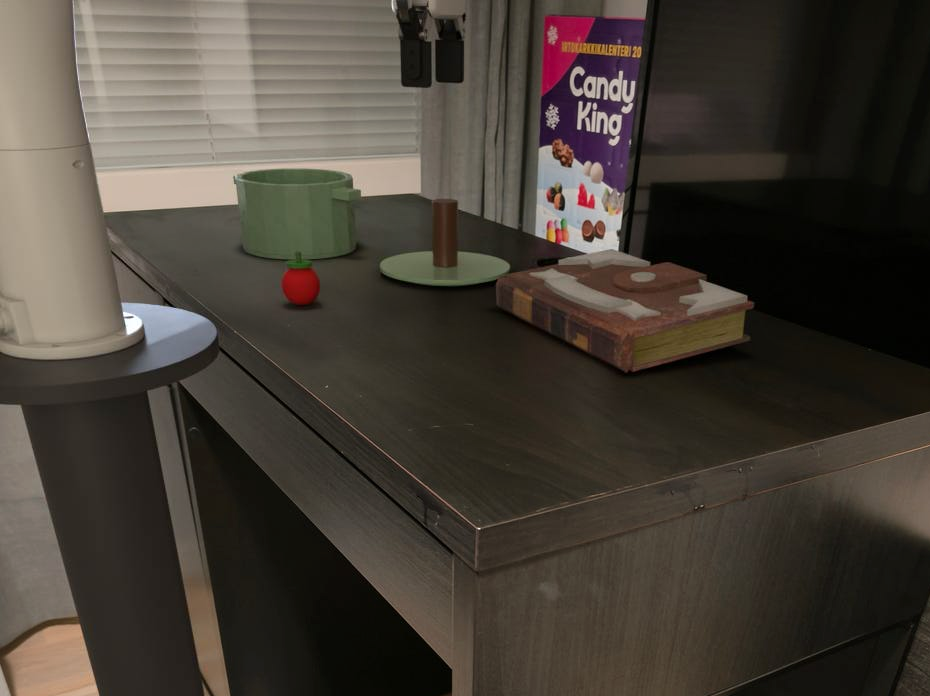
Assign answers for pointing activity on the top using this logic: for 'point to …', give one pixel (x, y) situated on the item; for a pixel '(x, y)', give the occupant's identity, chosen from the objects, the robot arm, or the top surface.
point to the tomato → (300, 281)
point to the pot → (297, 212)
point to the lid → (444, 256)
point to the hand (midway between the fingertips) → (433, 84)
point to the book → (626, 308)
